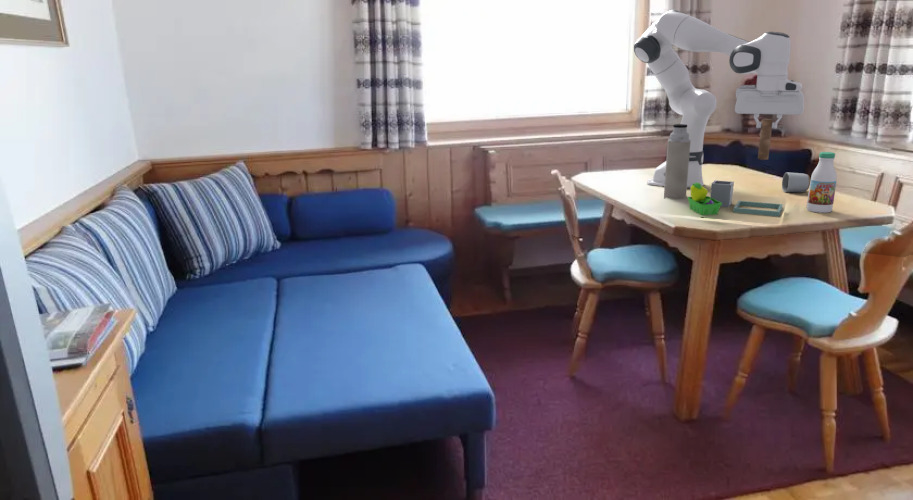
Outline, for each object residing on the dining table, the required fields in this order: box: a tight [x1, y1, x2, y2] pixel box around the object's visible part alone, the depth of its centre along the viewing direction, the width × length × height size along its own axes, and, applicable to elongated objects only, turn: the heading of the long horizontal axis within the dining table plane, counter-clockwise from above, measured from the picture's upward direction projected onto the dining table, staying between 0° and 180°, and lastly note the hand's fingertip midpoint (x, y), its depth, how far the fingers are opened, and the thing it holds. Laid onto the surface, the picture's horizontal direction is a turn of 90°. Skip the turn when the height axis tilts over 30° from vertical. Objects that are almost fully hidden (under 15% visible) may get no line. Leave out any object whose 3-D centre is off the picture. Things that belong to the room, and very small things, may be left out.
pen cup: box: [709, 179, 735, 208], centre depth 223 cm, size 6×6×9 cm
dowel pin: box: [757, 118, 774, 161], centre depth 208 cm, size 3×3×13 cm
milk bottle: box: [806, 151, 838, 214], centre depth 214 cm, size 8×8×20 cm
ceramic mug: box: [781, 172, 811, 193], centre depth 246 cm, size 11×8×8 cm
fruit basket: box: [687, 183, 722, 219], centre depth 215 cm, size 11×9×11 cm
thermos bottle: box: [663, 123, 691, 200], centre depth 235 cm, size 8×8×28 cm
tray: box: [732, 200, 784, 217], centre depth 215 cm, size 14×12×2 cm
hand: (766, 128), depth 207 cm, fingers closed on dowel pin, 3 cm apart
